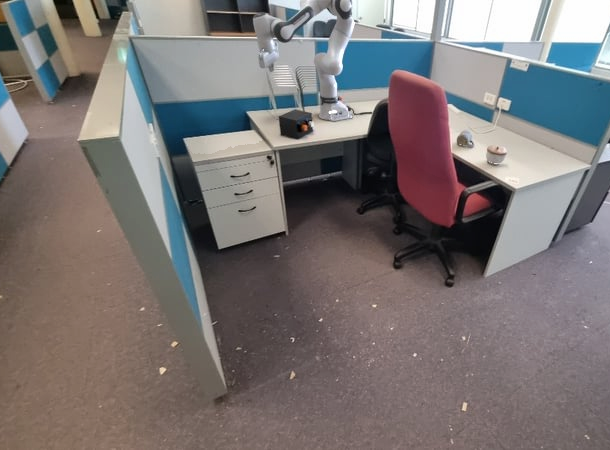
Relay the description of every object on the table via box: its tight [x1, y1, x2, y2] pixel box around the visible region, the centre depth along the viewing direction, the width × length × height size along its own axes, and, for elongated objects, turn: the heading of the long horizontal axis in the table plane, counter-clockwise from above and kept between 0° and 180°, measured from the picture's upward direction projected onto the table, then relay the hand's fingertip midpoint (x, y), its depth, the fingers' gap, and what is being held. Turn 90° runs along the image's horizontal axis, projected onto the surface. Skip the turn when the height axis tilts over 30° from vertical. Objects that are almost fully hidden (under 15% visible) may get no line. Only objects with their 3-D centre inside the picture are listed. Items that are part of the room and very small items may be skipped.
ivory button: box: [308, 121, 315, 128], centre depth 197 cm, size 3×2×3 cm, turn 157°
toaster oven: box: [277, 109, 314, 140], centre depth 197 cm, size 18×13×11 cm
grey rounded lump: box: [456, 130, 475, 148], centre depth 200 cm, size 11×8×8 cm
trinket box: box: [485, 145, 508, 166], centre depth 181 cm, size 11×11×9 cm
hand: (272, 71), depth 199 cm, fingers closed
